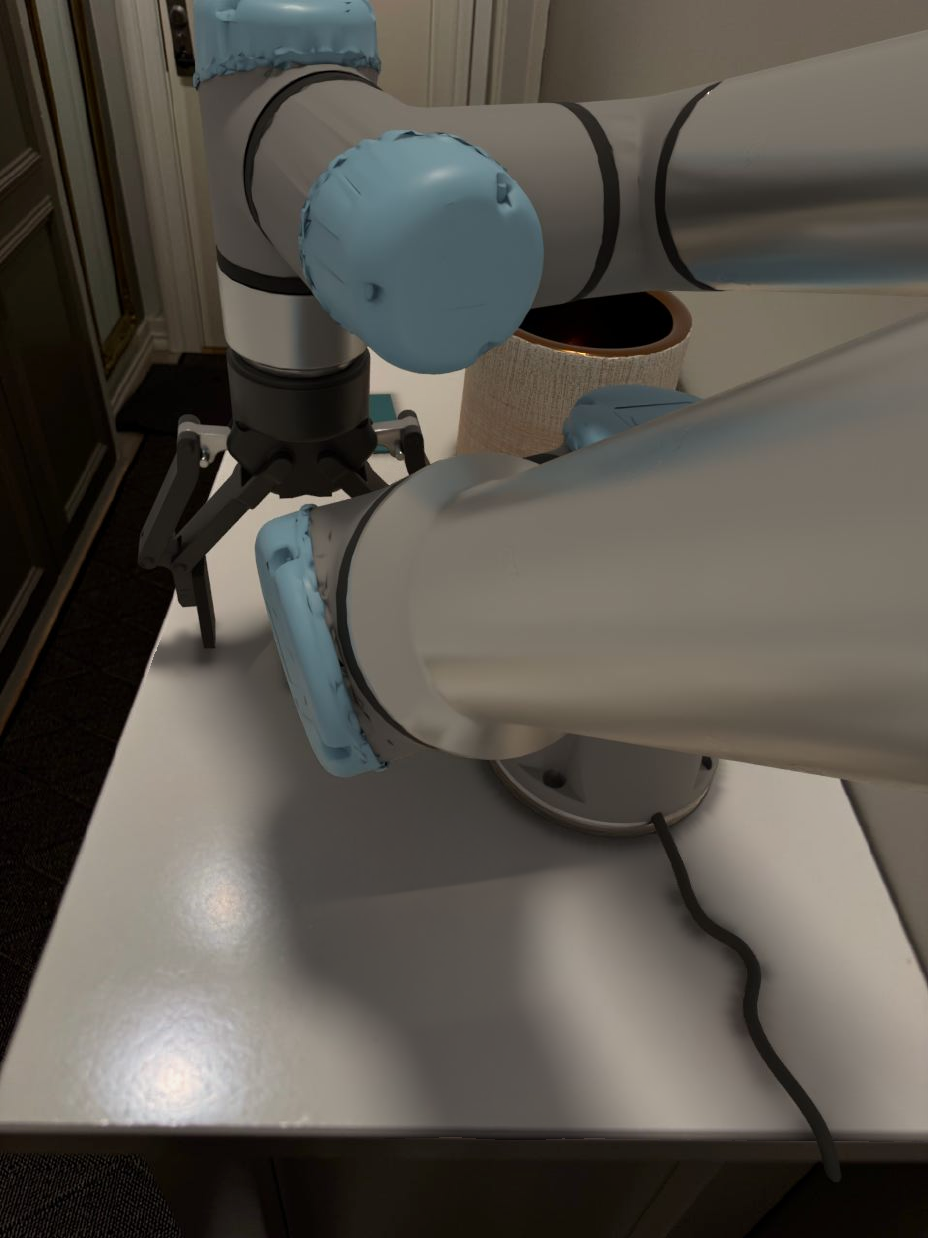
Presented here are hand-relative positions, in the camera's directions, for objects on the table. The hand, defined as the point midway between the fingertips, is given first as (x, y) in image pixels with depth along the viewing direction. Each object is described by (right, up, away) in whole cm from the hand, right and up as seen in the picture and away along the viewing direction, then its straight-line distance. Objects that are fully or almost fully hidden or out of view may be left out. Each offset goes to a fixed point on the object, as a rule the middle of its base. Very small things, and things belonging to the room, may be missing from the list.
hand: (310, 627), depth 60 cm
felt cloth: (+1, +19, +21) cm, 28 cm away
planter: (+19, +14, +18) cm, 30 cm away
